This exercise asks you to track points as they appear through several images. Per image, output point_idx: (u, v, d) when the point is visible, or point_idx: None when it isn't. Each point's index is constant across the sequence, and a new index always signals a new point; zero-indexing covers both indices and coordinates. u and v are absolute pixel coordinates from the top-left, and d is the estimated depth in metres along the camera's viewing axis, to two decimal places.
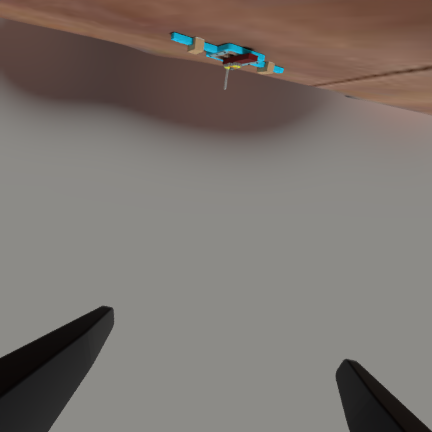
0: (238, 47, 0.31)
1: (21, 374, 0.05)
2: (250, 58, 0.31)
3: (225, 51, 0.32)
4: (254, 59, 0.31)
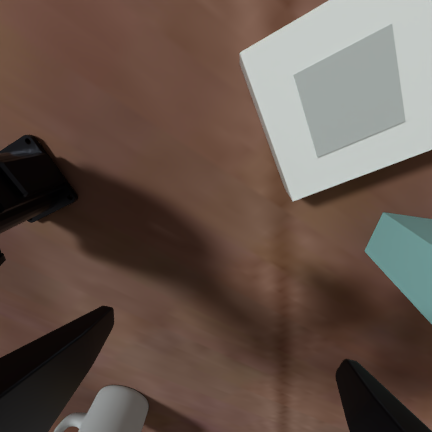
0: None
1: (21, 374, 0.05)
2: None
3: None
4: None
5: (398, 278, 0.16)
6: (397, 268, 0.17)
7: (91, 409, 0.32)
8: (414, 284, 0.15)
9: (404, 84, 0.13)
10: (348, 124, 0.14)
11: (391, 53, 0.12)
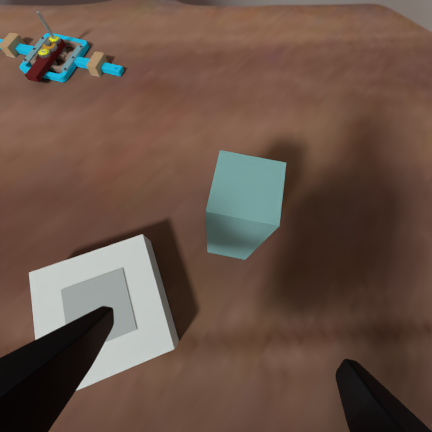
0: (54, 79, 0.30)
1: (21, 374, 0.05)
2: (33, 77, 0.29)
3: (64, 70, 0.30)
4: (29, 76, 0.29)
5: (246, 250, 0.19)
6: (239, 250, 0.19)
7: None
8: (242, 246, 0.18)
9: (98, 273, 0.19)
10: (116, 307, 0.18)
11: (78, 285, 0.19)
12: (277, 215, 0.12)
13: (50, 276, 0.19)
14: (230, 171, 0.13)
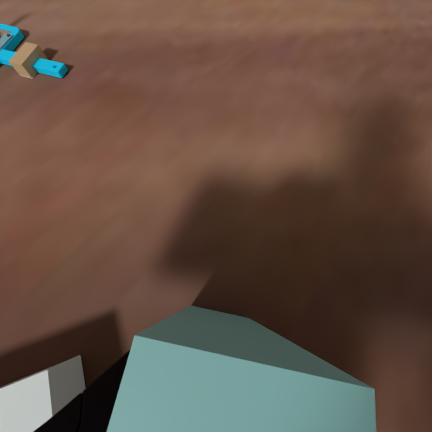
0: None
1: None
2: None
3: None
4: None
5: None
6: None
7: None
8: None
9: None
10: None
11: None
12: None
13: None
14: None
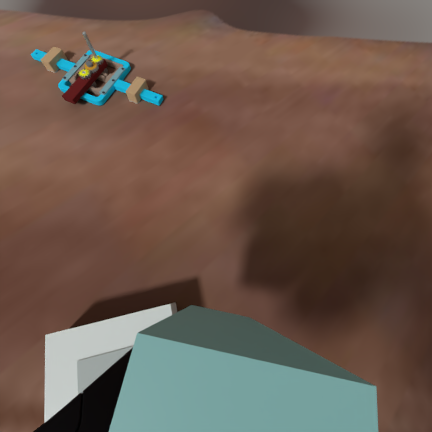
0: (91, 102, 0.29)
1: None
2: (70, 99, 0.27)
3: (102, 94, 0.29)
4: (65, 98, 0.28)
5: None
6: None
7: None
8: None
9: (119, 346, 0.17)
10: None
11: (96, 357, 0.17)
12: None
13: (68, 342, 0.17)
14: None
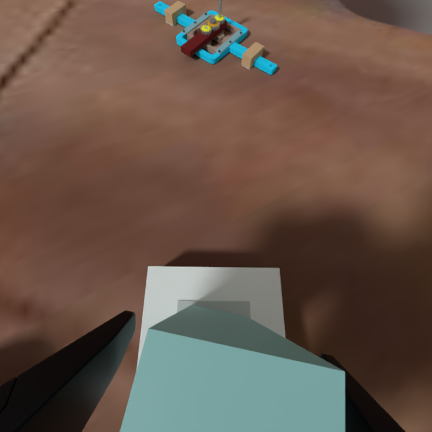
0: (204, 58, 0.28)
1: (57, 382, 0.05)
2: (188, 51, 0.27)
3: (218, 52, 0.28)
4: (183, 49, 0.27)
5: None
6: None
7: None
8: None
9: (221, 297, 0.16)
10: None
11: (196, 302, 0.16)
12: None
13: (170, 279, 0.16)
14: (172, 418, 0.04)
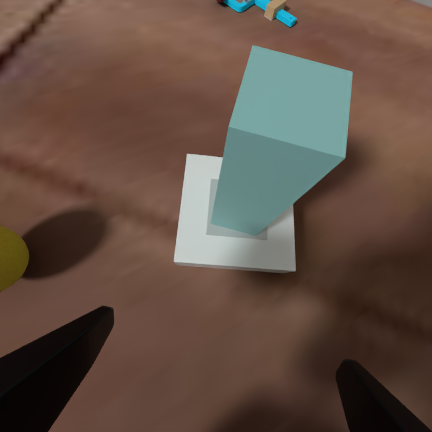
0: (232, 6, 0.32)
1: (21, 374, 0.05)
2: None
3: (245, 2, 0.31)
4: None
5: (264, 219, 0.14)
6: (254, 219, 0.15)
7: None
8: (261, 210, 0.13)
9: None
10: None
11: None
12: (341, 142, 0.07)
13: (204, 164, 0.21)
14: (267, 75, 0.08)
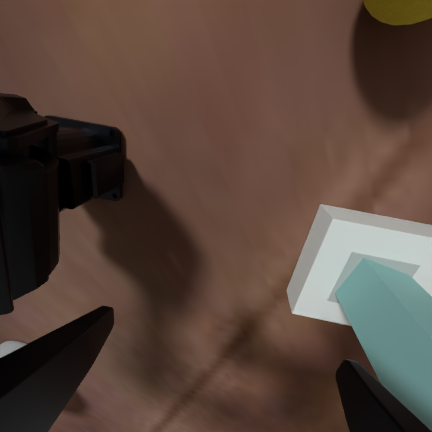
0: None
1: (21, 374, 0.05)
2: None
3: None
4: None
5: (364, 335, 0.15)
6: (365, 324, 0.15)
7: None
8: (380, 349, 0.13)
9: None
10: None
11: None
12: None
13: None
14: None
